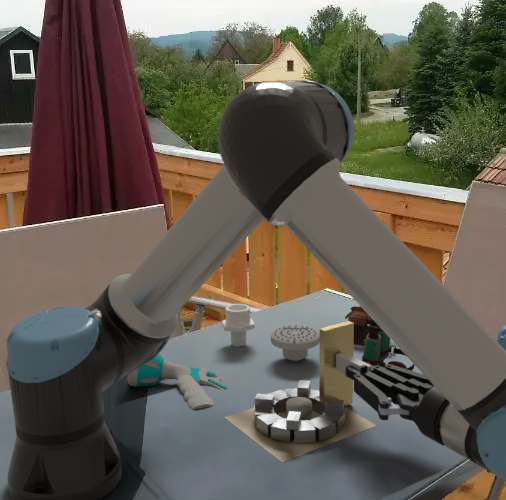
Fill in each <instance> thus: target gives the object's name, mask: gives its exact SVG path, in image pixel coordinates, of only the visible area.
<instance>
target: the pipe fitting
mask: <svg viewBox="0 0 506 500" xmlns="http://www.w3.org/2000/svg"><path fill="white" fill-rule="evenodd" d="M224 311H225V319H223V320H221V325H222V328H223V330H224V332H229V333H230V343H231V345H232V347H239V348H240V347H244V346H245V345H247V332H248V331H250V330H254V329H255V322H254V320H253V319H252V317H251V307H250V306H249V305H247V304H245V303H235V304H234V303H233V304H230V305H227V306H226V307H225V309H224Z"/></svg>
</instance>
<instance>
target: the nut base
mask: <svg viewBox="0 0 506 500" xmlns="http://www.w3.org/2000/svg"><path fill="white" fill-rule="evenodd" d="M312 389H313V390H316V389H315V388H312ZM344 409H345V425H344V426H343V428H342V429H341V430H340V432H339V433H338V434H337V433H336V435H335V436H332V437H330V438H327V439H325V440H322V441H318V440H316V439H315V442H310V443H294V439H293V440H292V441H291V442H290V443H289V442H285V441H280V440H276V439H272V438H271V436H269V437H267V436H266V435H265V434H263V433H262V432H261V431H259V430H258V429H257V426H256V427H255V419H254V407H252V408H248V409H245V410H243V411H240V412H236V413H233V414H230V415H227V416H224V417H223V418H224V419H225V420H227V421H228V422H229V423H230V424H232V425H233V426H235V428H237V429H238V430H240V431H241V432H242V433H243V434H245V435H246V436H247V437H249V439H251V440H252V441H254V442H255V443H256V444H257V445H259V446H260V447H261V448H262V449H264V450H265V451H267V452H268V453H269V454H270V455H272V456H273V457H274V458H276V459H277V460H278V461H279V462H280V463H285V462H287V461H290V460H292V459H295V458H297V457H299V456H303V455H305V454H308V453H310V452H313V451H315V450H318V449H321V448H323V447H326V446H329V445H331V444H333V443H336V442H338V441H341V440H345V439H347V438H349V437H352V436H354V435H357V434H359V433H362V432H365V431H367V430H370V429H374V428H375V427H377V426H378V425H376V424H375V423H373V422H371V421H370V420H368V419H366V418H364V417H363V416H361V415H359V414H358V413H356V412H354V411H352V410H351V409H349V408H348V407H347V406H344ZM289 411H295V412H301V420H311V419H314V418H317V417H320V416H321V415H322V414H321V413H319V412H317V411H316V410H312V401H311V400H309V399H307V398H304V397H294V398H290V399H288V400H287V402H286V410H283V411H280V412H278V413H277V415H279V416H280V417H282V418H285V419H287V416H288V413H289Z"/></svg>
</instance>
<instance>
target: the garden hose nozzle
mask: <svg viewBox="0 0 506 500" xmlns="http://www.w3.org/2000/svg"><path fill="white" fill-rule="evenodd" d="M165 380H176V381H177V383H176V384H177V386H178V387H179V390H180V392H181V393H182V394H183V399H184V400H185V401H186V403H187V406H188V408H189V409H191V410H199V409H203V408H208V407H213V406H214V405H215V404H214V401H213V399H212V398H211V397H210V396H208V394H207V393H206V392H205V390H204V389H203V387H202V386H201V385H206V386H207V385H208V386H211V387H214V388H217V389H219V390H221V391H224V390H226V389H228V387H227V386H226V385H224V384H222V383H221V380H222V377H221V376H219V375H218V374H216V373H215V372H212V371H208V370H207V369H206V368H204V367H199V366H198V367H193V366H192V367H191V366H186V365H181V364H177V363H173V362H171V361H168V360H167V359H164V357H163V356H161V355H160V353H159V354H158V355H157V356H156V357H155V358H154V359H152V360H151V361H149V362H147V363H145V364H143V365H142V366H140V367H139V368H137V369H135V370H134V371H132V372H131V373H129V374H128V375H127V379H126V381H127V383H128V386H131V387H137V388H138V387H149V386H154V385H157V384H158V383H160V382H162V381H165Z"/></svg>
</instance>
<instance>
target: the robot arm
mask: <svg viewBox="0 0 506 500" xmlns="http://www.w3.org/2000/svg"><path fill="white" fill-rule="evenodd" d="M352 115H353V114H352V113H351V110H350V107H349V106H348V104H347V102H346V101H345V99H343V97H342V96H341V95H340V94H339V93H337V91H335V90H334V89H333V88H331V87H329V86H327V85H324V84H322V83H320V82H317V81H313V80H308V79H307V80H304V79H303V80H296V81H263V82H259V83H255V84H252V85H250V86H248V87H246V88H244V89H242V90H241V91H240V92H238V93H237V94H236V95H235V96H234V97H233V98H232V99H231V100H230V101H229V103H228V104H227V106H226V108H225V109H224V111H223V113H222V115H221V118H220V121H219V126H218V130H217V132H218V133H217V135H218V136H217V142H218V143H217V145H218V150H219V155H220V158H221V160H222V162H223V164H222V166H221V167H220V169H218V171H217V172H216V174H214V175H213V177H212V178H211V179H210V180H209V181H208V183H207V184H206V185H205V187H203V189H201V191H200V192H199V194H198V195H197V196H196V197H195V198H194V200H193V201H192V202H191V203H190V204H189V206H188V207H186V209H185V210H184V211H183V213H182V214H181V215H180V216H179V217H178V218H177V220H176V221H175V222H174V223H173V224H172V225H171V227H170V228H169V229H168V230H167V231H166V232H165V234H164V235H163V236H162V237H161V239H160V240H159V241H158V242H157V243H156V244H155V246H154V247H152V249H151V250H150V252H148V254H147V255H146V256H145V257H144V259H143V260H142V261H141V262H140V263H139V265H138V266H136V269H135V270H133V272H132V273H123V274H120V275H117V276H116V277H114V278H113V280H112V281H111V282H110V283H109V284H108V285H107V287H106V288H105V289H104V290H103V291H102V292H101V294H100V295H99V296H98V298H97V299H96V300H94V301H93V302H92V303H91V304H89V305H88V306H87V307H85V308H84V307H81V306H74V305H73V306H72V305H71V306H59V307H52V308H51V309H50V310H41V311H38V312H35V313H33V314H31V315H28V316H27V317H25V318H23V319H21V320H19V322H18V323H17V324H15V325H14V326H13V328H12V329H11V330H10V332H9V334H8V336H7V339H6V355H7V356H6V360H5V364H6V370H7V373H8V380H9V387H10V396H11V401H12V409H13V417H14V426H15V437H16V438H15V442H14V447H13V451H12V454H11V458H10V464H9V467H8V470H7V471H8V472H7V477H6V478H7V487H8V494H9V495H8V496H9V498H10V499H11V500H98V499H100V498H101V499H103V498H105V496H107V495H108V493H109V494H110V493H111V492H112V491H113V490H114V489H115V488H116V487H117V485H118V484H119V482H120V481H121V478H122V474H123V469H122V458H121V453H120V451H119V450H118V447H117V445H116V443H115V440H114V438H113V436H112V433H111V432H110V429H109V427H108V426H107V424H106V418H105V406H104V391H106V390H107V389H109V388H110V387H112V386H113V385H115V384H117V382H119V381H120V380H121V379H124V378H125V377H126V376H128V374H129V373H131V372H132V371H134V370H135V369H137V368H139V367H140V366H142V365H143V364H145V363H147V362H149V361H151V360H152V359H154V358H155V357H156V356H157V355H158V354H159V355H160V353H161V352H162V350H163V349H165V347H166V346H167V344H168V342H169V340H170V337H171V334H173V332H174V331H175V329H176V328H177V326H178V312H179V311H180V310H181V309H182V308H183V307H184V306H185V305H186V304H187V303H188V302H189V300H190V299H191V298H192V297H193V296H194V295H195V294H196V292H198V291H199V290H200V288H201V287H202V286H203V285H204V284H205V283H206V282H207V281H208V280H209V279H210V278H211V277H212V275H214V273H215V272H216V271H217V270H218V269H219V268H220V267H221V266H222V265H223V264H224V263H225V262H226V261H227V259H228V258H229V257H230V256H231V255H232V254H233V253H234V252H235V250H237V249H238V248H239V246H240V245H241V244H243V242H244V241H245V240H246V239H247V238H248V237H249V235H251V234H252V232H253V231H254V230H255V229H256V228H257V227H259V225H260V224H261V223H262V222H263V221H264V220H267V222H268V223H269V224H270V225H271V226H279V227H286V228H288V229H289V231H290V232H291V233H292V234H293V235H294V236H295V237H296V239H298V240H299V242H300V243H302V245H303V246H304V247H305V248H306V249H307V251H309V253H310V254H312V256H313V257H314V258H315V259H316V260H317V261H318V262H319V263H320V265H321V266H322V267H324V269H326V271H327V272H328V273H329V274H330V275H331V277H333V278H334V279H335V280H336V282H337V283H338V284H339V285H341V287H342V288H343V289H344V291H346V293H347V294H348V295H349V296H350V297H351V298H352V299H353V300H354V301H355V303H357V304H358V305H359V307H362V308H363V310H364V311H365V312H366V313H367V314H368V315H369V316H370V317H371V318H372V319H373V320H374V321H375V322H376V324H377V325H378V326H379V327H380V328H381V329H382V330H383V331H384V332H385V333H386V334H387V335H388V336H389V338H390V341H392V342H393V343H394V345H395V346H396V347H397V348H398V349H401V350H402V352H403V353H404V354H405V355H406V356H405V355H404V356H405V357H406V358H408V359H409V360H410V361H411V362H412V363H413V364H415V365H414V367H416V368H417V369H418V370H419V371H420V372H421V373H420V372H417V371H414V370H412V371H411V370H407V369H404V368H401V367H398V366H395V365H391V364H388V363H387V364H386V363H385V364H386V365H385V368H383V367H381V366H373V365H370V364H368V363H366V362H363V361H362V359H361V360H360V359H359V358H356V357H354V355H353V356H351V355H348V354H346V353H344V352H342V353H339V354H336V370H337V371H339V372H341V373H343V374H345V375H346V377H348V378H350V379H352V380H353V392H354V393H355V394H356V395H357V396H358V397H360V398H361V399H362V400H363V401H364V402H365V403H366V404H367V405H368V406H370V407H371V408H372V409H373V410H374V411H375V412H377V414H378V417H379V418H378V419H379V420H381V421H388V420H389V416H393V415H395V416H396V415H397V416H398V415H399V416H400V418H402V419H404V420H408V421H410V422H414V424H415V425H416V426H417V429H418V430H419V431H420V433H421V434H422V436H423V435H424V436H425V437H426V438H429V439H430V440H432V441H433V442H434V443H435V442H436V443H437V444H439V445H441V446H444V447H446V448H447V449H448V450H451V451H453V452H454V453H456V454H458V455H460V456H462V457H464V458H466V459H467V460H469V461H470V462H472V463H474V464H475V465H477V466H479V467H481V468H483V469H484V470H486V471H487V472H490V473H491V474H493V475H494V476H496V477H498V478H499V479H501V480H502V481H503V480H504V481H505V482H506V323H505V324H504V325H502V326H501V327H500V328H499V330H498V331H497V337H496V339H495V338H494V337H493V336H492V334H491V333H490V332H488V331H487V329H486V328H485V327H484V326H483V325H482V324H481V323H480V322H479V321H478V320H477V319H476V318H475V316H474V315H472V313H471V312H470V311H469V310H468V309H467V308H466V307H465V306H464V305H463V304H462V303H461V302H460V301H459V300H458V299H457V298H456V296H455V295H453V294H452V292H450V290H449V289H448V288H447V287H446V286H445V285H444V284H443V283H442V282H441V281H440V280H439V279H438V278H437V276H436V275H434V273H432V271H431V270H430V269H429V268H428V267H427V266H426V265H425V264H424V263H423V262H422V260H420V259H419V258H418V257H417V256H416V255H415V253H414V252H413V251H412V250H411V249H410V248H409V247H408V246H407V245H406V244H405V243H404V241H402V240H401V239H400V237H398V236H397V235H396V234H395V232H394V231H392V229H391V228H390V227H389V226H388V225H387V224H386V223H385V222H384V221H383V220H382V219H381V217H379V216H378V214H377V213H375V211H373V209H372V208H371V207H370V206H369V205H368V204H367V203H366V202H365V201H364V200H363V199H362V198H361V196H359V194H357V192H356V191H355V190H354V189H353V187H351V186H350V185H349V184H348V182H347V181H345V180H344V178H342V177H341V173H340V169H341V168H340V167H341V165H340V164H341V163H342V162H343V161H344V159H346V157H347V156H348V154H349V152H350V150H351V148H352V145H353V141H354V134H355V132H354V131H355V127H354V126H355V125H354V119H353V116H352ZM393 372H395V373H393ZM101 499H100V500H101Z"/></svg>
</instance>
